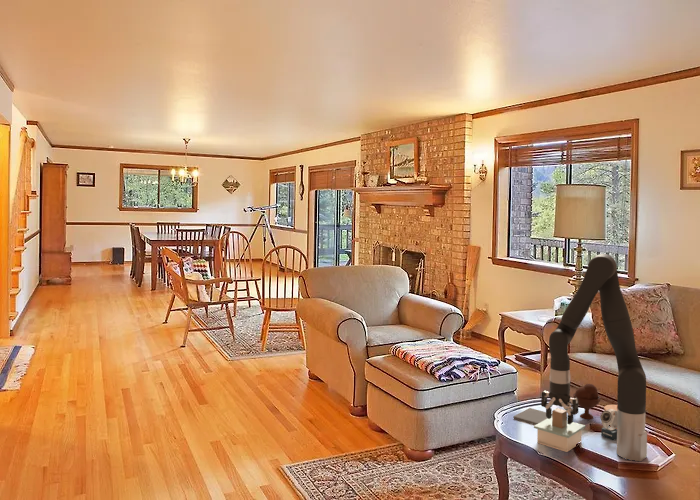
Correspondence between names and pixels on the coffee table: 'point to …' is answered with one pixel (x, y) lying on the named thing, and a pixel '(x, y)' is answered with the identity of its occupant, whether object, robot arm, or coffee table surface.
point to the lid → (559, 424)
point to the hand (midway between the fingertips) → (559, 420)
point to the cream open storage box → (558, 440)
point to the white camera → (611, 408)
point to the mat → (531, 416)
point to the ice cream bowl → (587, 399)
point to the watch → (606, 420)
